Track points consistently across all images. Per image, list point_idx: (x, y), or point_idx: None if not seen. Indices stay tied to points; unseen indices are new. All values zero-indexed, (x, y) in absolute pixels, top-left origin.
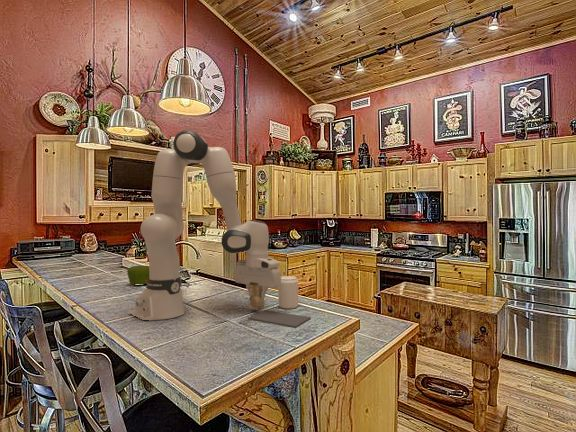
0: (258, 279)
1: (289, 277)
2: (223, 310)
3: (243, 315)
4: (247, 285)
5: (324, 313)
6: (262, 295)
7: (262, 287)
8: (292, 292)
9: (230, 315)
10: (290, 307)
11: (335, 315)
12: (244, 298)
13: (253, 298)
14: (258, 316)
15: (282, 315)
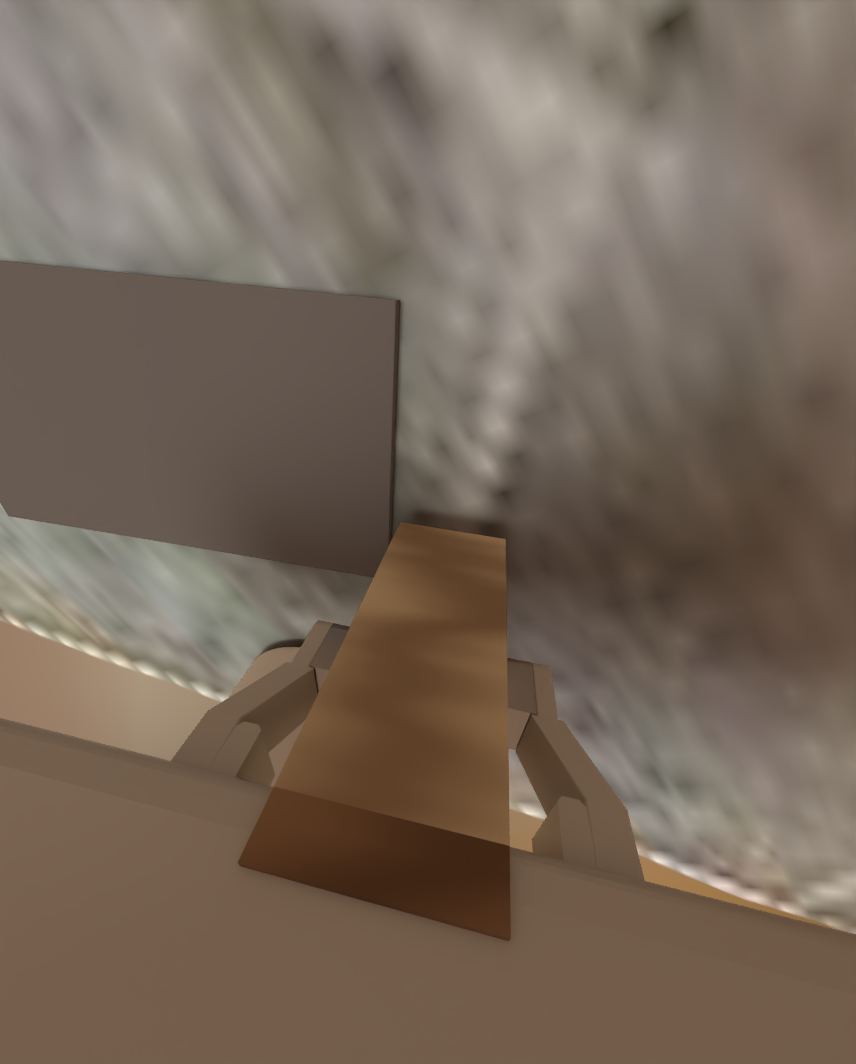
0: (165, 1026)
1: None
2: (838, 494)
3: (519, 410)
4: (600, 842)
5: (70, 620)
6: (306, 642)
7: (231, 756)
8: None
9: (680, 350)
10: (262, 654)
11: (4, 604)
12: (703, 782)
13: (441, 602)
14: (318, 387)
15: (174, 492)
